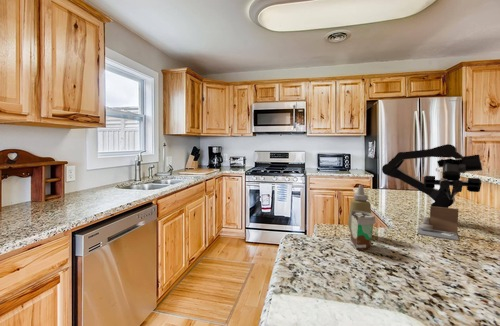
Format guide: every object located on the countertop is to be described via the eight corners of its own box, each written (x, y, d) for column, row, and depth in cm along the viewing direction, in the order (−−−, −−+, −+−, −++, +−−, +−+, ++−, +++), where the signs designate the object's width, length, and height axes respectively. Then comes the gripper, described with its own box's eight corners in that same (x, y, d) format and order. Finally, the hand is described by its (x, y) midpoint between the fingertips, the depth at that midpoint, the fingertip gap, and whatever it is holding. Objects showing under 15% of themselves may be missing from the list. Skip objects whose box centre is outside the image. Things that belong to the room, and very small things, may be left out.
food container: (379, 253, 75) (381, 219, 75) (357, 251, 76) (358, 217, 76) (369, 240, 87) (370, 211, 87) (349, 239, 88) (350, 209, 88)
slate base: (419, 226, 108) (419, 225, 108) (455, 232, 101) (456, 230, 101) (417, 234, 97) (417, 232, 97) (458, 240, 90) (458, 239, 90)
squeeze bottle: (371, 233, 96) (373, 184, 95) (371, 239, 88) (373, 186, 88) (348, 230, 99) (349, 183, 99) (346, 235, 92) (348, 185, 91)
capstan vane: (420, 227, 104) (421, 204, 104) (456, 232, 98) (457, 208, 98) (420, 229, 101) (421, 206, 101) (457, 234, 95) (459, 210, 94)
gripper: (425, 157, 114) (423, 183, 105) (481, 158, 103) (485, 188, 94) (424, 174, 120) (423, 201, 111) (478, 177, 110) (480, 206, 101)
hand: (450, 199), depth 104 cm, fingers closed
